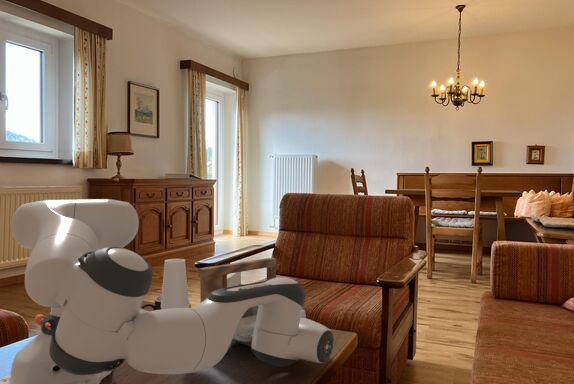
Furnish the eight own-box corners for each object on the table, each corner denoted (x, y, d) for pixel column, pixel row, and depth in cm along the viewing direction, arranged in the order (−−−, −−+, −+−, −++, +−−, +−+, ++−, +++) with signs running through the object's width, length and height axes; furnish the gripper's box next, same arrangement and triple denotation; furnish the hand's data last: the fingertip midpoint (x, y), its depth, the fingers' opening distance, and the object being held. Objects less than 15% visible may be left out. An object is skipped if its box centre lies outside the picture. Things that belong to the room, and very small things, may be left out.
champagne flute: (180, 351, 117) (180, 257, 116) (194, 359, 112) (194, 260, 111) (156, 358, 112) (155, 260, 112) (169, 367, 108) (168, 264, 107)
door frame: (202, 361, 111) (202, 269, 110) (198, 358, 112) (198, 268, 112) (276, 339, 126) (276, 258, 126) (271, 337, 128) (271, 257, 127)
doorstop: (252, 347, 119) (252, 308, 119) (235, 341, 123) (235, 304, 123) (265, 341, 123) (265, 304, 123) (248, 336, 127) (248, 300, 127)
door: (232, 350, 117) (232, 279, 116) (222, 349, 117) (221, 278, 117) (245, 334, 128) (245, 270, 128) (235, 334, 129) (235, 269, 128)
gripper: (245, 352, 107) (213, 337, 117) (309, 333, 120) (275, 320, 131) (245, 325, 107) (213, 312, 117) (309, 308, 120) (275, 298, 131)
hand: (246, 316), depth 124 cm, fingers closed on doorstop, 5 cm apart
